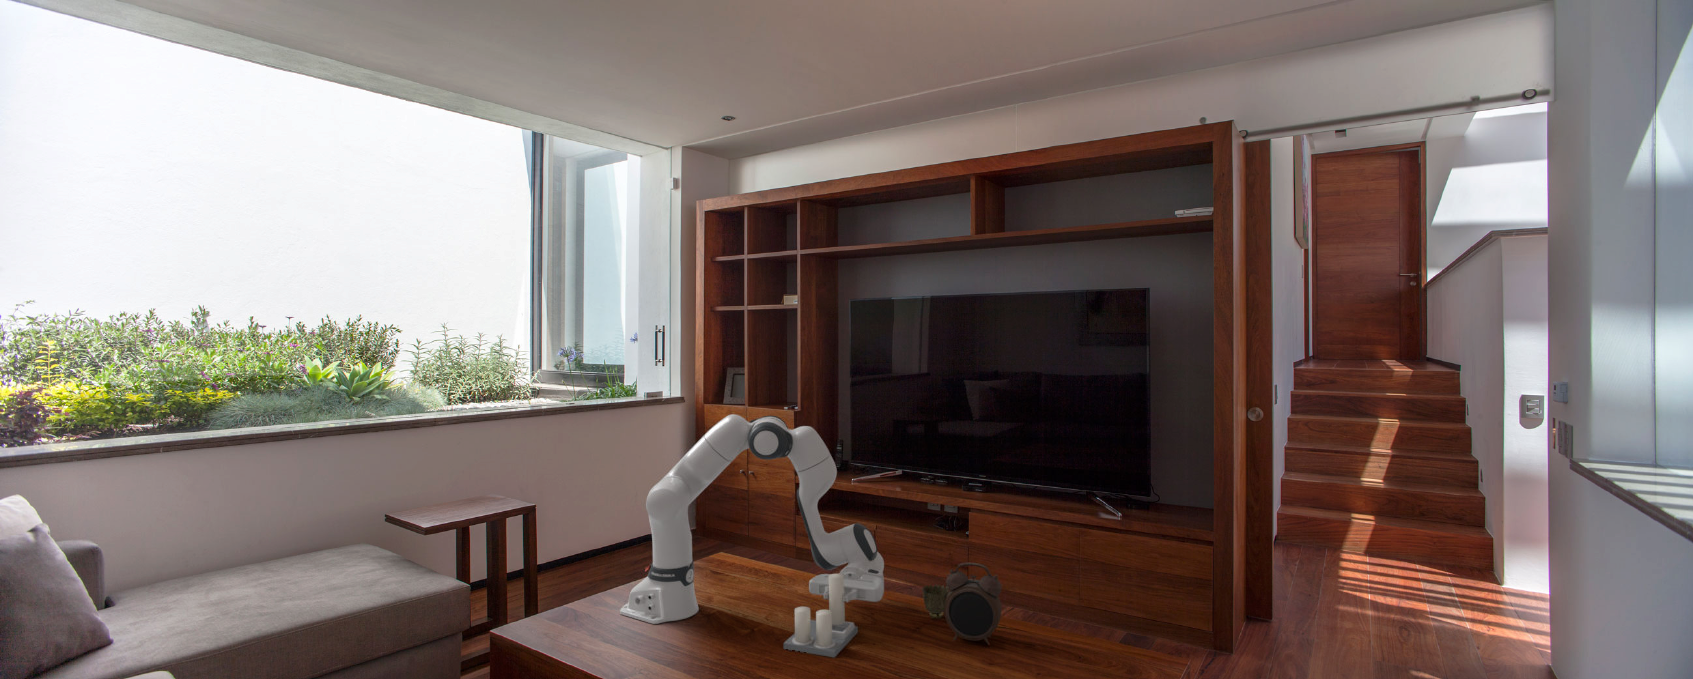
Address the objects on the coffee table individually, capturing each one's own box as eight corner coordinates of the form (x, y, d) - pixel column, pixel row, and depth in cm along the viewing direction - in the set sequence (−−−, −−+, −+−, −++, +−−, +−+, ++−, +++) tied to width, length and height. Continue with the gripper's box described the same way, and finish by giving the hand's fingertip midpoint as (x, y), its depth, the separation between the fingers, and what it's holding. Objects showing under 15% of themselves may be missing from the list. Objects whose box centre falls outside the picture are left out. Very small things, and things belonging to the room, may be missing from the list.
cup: (948, 623, 199) (948, 594, 199) (921, 621, 200) (921, 592, 200) (950, 612, 206) (949, 584, 206) (924, 611, 208) (923, 583, 208)
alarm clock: (942, 643, 186) (941, 565, 186) (948, 632, 193) (947, 557, 193) (1000, 650, 182) (999, 571, 181) (1003, 639, 188) (1002, 562, 188)
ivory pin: (827, 623, 190) (826, 577, 189) (833, 618, 193) (832, 573, 193) (841, 625, 188) (840, 579, 188) (847, 619, 192) (846, 574, 192)
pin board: (783, 649, 184) (783, 611, 184) (810, 625, 199) (809, 590, 199) (834, 657, 179) (833, 619, 179) (857, 632, 194) (857, 596, 194)
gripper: (820, 565, 206) (799, 581, 194) (888, 573, 199) (871, 590, 186) (820, 587, 207) (799, 605, 194) (888, 596, 199) (871, 614, 186)
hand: (835, 597), depth 190 cm, fingers closed on ivory pin, 4 cm apart
